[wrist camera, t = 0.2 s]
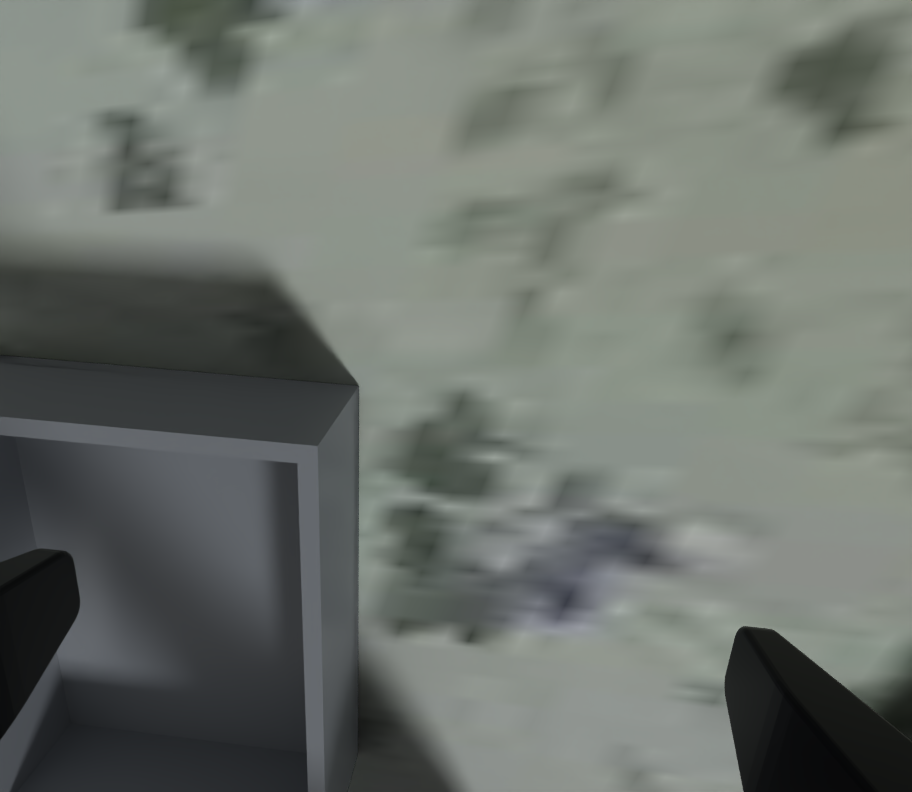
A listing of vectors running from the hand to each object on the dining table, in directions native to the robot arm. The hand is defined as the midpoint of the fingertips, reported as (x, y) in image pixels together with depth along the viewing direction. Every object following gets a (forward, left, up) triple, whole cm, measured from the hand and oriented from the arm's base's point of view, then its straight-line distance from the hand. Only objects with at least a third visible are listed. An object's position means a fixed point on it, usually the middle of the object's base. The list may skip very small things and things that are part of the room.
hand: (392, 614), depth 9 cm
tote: (-11, +11, -15) cm, 21 cm away
